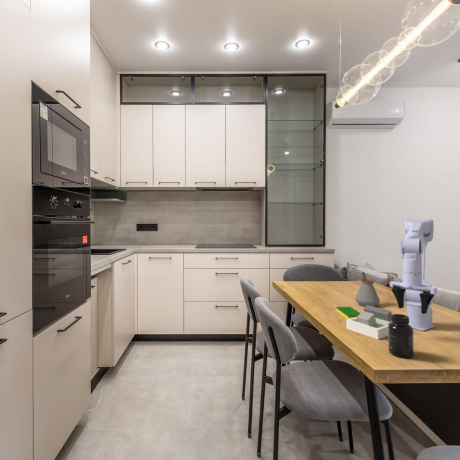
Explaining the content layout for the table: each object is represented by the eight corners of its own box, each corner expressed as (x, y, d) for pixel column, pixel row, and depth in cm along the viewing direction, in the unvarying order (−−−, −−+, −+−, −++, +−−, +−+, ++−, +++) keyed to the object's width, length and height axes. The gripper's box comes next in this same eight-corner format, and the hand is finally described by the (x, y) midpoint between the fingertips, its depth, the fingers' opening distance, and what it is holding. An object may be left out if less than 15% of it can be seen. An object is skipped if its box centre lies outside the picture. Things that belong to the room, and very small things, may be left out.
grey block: (366, 321, 111) (363, 311, 110) (377, 325, 107) (374, 313, 106) (359, 328, 109) (356, 317, 108) (370, 331, 105) (367, 320, 104)
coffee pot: (381, 309, 138) (381, 278, 138) (356, 307, 142) (356, 277, 142) (374, 298, 158) (374, 272, 158) (352, 297, 162) (352, 271, 162)
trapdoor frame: (368, 322, 119) (368, 313, 119) (400, 331, 108) (399, 322, 108) (346, 328, 112) (346, 319, 112) (378, 339, 101) (378, 329, 100)
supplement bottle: (404, 349, 92) (404, 312, 92) (418, 358, 86) (418, 319, 86) (383, 349, 92) (383, 312, 92) (396, 359, 85) (396, 319, 85)
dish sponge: (347, 321, 122) (347, 315, 122) (335, 311, 136) (335, 306, 136) (364, 320, 122) (364, 315, 122) (350, 311, 136) (350, 306, 136)
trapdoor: (368, 312, 117) (366, 304, 116) (394, 319, 108) (391, 311, 107) (352, 327, 112) (350, 319, 111) (378, 336, 103) (375, 327, 102)
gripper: (385, 270, 104) (385, 307, 104) (429, 276, 92) (429, 317, 92) (396, 269, 108) (396, 304, 108) (439, 274, 95) (439, 314, 95)
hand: (412, 310), depth 100 cm, fingers open, 7 cm apart
